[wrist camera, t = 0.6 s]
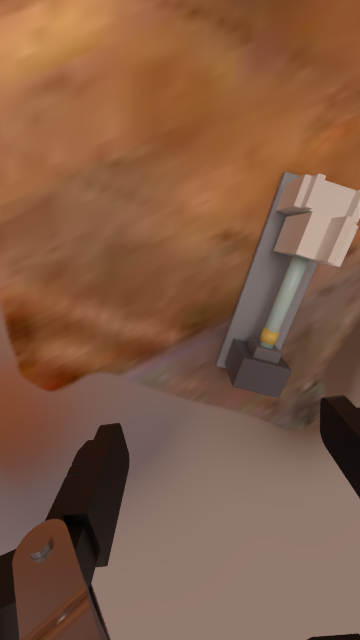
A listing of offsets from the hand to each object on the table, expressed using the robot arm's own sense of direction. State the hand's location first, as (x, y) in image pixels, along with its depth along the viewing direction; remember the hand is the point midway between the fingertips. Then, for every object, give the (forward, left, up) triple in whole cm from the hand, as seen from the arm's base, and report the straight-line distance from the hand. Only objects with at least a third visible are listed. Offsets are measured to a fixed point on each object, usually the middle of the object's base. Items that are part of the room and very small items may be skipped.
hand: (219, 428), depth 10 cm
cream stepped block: (-10, +10, -24) cm, 28 cm away
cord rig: (-4, +10, -26) cm, 28 cm away
